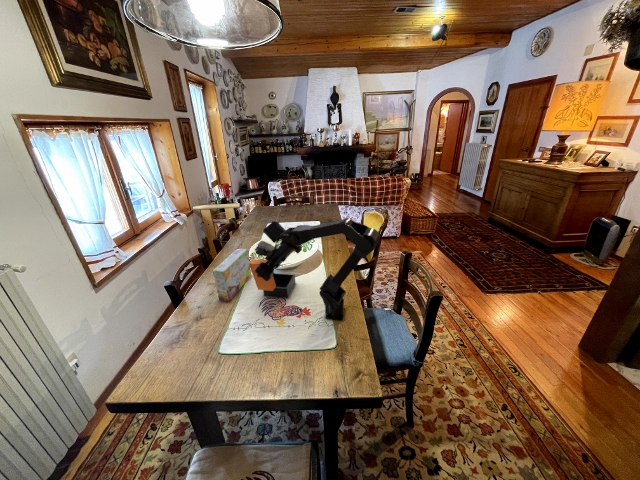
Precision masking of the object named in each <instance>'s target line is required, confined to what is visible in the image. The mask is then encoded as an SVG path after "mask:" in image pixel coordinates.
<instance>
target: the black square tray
mask: <svg viewBox="0 0 640 480" xmlns="http://www.w3.org/2000/svg"><path fill="white" fill-rule="evenodd" d="M273 278H274V281H275V284H276V287H275V288H274V290H273V291H269V290H262V291H263V297H270V298H278V299H279V298H280V299H289V297H290V296H291V293H292V292H293V290H294V288H295V286H296V275H295V274H290V273H277V272H274V274H273Z"/></svg>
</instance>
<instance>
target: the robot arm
mask: <svg viewBox="0 0 640 480" xmlns="http://www.w3.org/2000/svg"><path fill="white" fill-rule="evenodd" d="M262 232H263V234H264V235H265V236H266V237H267V238H268V239H269V240H270V241H272V243H273V244H275V243H278V244H276V245H272V244H271V243H269V242H266V241H264V240H260V241H259V242H258V243H257V245H256V247H255V248H254V252H255V254H256V255H258V256H260V257H264V260H267V262H266V263H263V262H261V263H260V264H259V265H258V267H257V268H256V269H255V272H256V273H257V274H258V275H257V276H258V277H262V278H263V279H264V280H265V281H268V280H270V279H271V277H272V276H273V274H274V273H275V268H276V269H278V268H279V267H280V265H281V264H282V263H284V262H286V260H287V258H289V256H290V255H292V254H293V252H295V253H296V254H297V255H298V254H300V253H301V252H302V250H303V249H302V248H303V247H302V245H304V244H306V243H308V242H309V241H312V240H315V239H320V238H326V237H331V236H337V235H341V234H342V235H344V236H346V238H347V239H348V240H349V241H350V243H352V244H353V245H354V247H353V250H352V251H351V253H350V254H349V256H348V257H347V258H346V260H345V261H344V262H343V264H342V265H341V266H340V268H339V269H338V270H337V272H336V273H335V274H334V275H332V274H331V273H329V275H328V276H327V277H326V278H325V280H324V282H323V283H322V284H321V286H320V287H319V296H320V298H321V299H322V301H323V304H324V313H325V319H327V320H336V321H343V320H344V316H345V311H346V308H345V299H344V297H345V295H346V293H347V292H346V290H345V289H344V288H343V287H342V285H343V283H344V282H345V281H346V279H347V278H348V276H349V275H350V274H351V273H352V272H353V271H354V269H355V268H356V267H357V265H358V264H359V263H360V261H361V260H362V259H364V258H365V257H367V256H368V255H370V254H371V253H373V251H374V250H375V249H376V247H377V245H378V243H379V240H380V238H381V236H380V233H379V231H378V230H377V229H375V228H373V227H369V226H367V225H366V224H364V223H360V222H357V221H355V220H353V219H351V218H349V217H345V218H343V219H339V220H335V221H330V222H325V223H321V224H316V225H309V224H299V225H296V226H295V227H288V228H287V229H285V228H284V227H283V226H282V224H280V222H279V221H278V220H277V219H273V221H271V223H269V224H268V225H267V226H266V227H265V228H264V229H263V230H262ZM280 241H281V242H280ZM268 263H269V264H268Z"/></svg>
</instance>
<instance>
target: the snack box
mask: <svg viewBox="0 0 640 480" xmlns="http://www.w3.org/2000/svg"><path fill="white" fill-rule="evenodd" d="M249 263H250V257H249V251H248V248H237V249H236V250H234V251H233V252H232V253H231V254H229V256H228V257H226V258H225V259H224V260H223V261H222V262H221V263H220V264H218V265H217V266H216V267H215V268H214V269H213V270H212V274H213V278H214V284H215V288H216V292H217V297H218V300H219V301H223V302H231V300H232V299H233V298H234V297H235V296H236V294H237V293H238V292H239V291H240V290H241V289H242V287H243V286H244V285H245V284H246V283H247V282H248V281H249V279H250V278H251V277H252V271H251V268H250V265H249Z"/></svg>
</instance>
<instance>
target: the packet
mask: <svg viewBox="0 0 640 480" xmlns="http://www.w3.org/2000/svg"><path fill="white" fill-rule="evenodd" d="M261 262H263V263H266V262H267V260H266V259H256V258H255V259H254V258H253V259H252V260H251V261H249V265H250V269H251V275H252V277H253V280H254V282H255V283H254V284H255V286H256V288H257V290H258V291H263V290H269V291H273V290H274V288H275V287H276V284H275V281H274V278H273V276H272V277H271V279H270V280H268V281H265V280H264V279H263V278H262V277H258V276H257V275H258V274H257V273H256V272H255V269H256V268H257V267H258V265H259V264H260V263H261ZM268 264H269V263H268Z"/></svg>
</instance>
